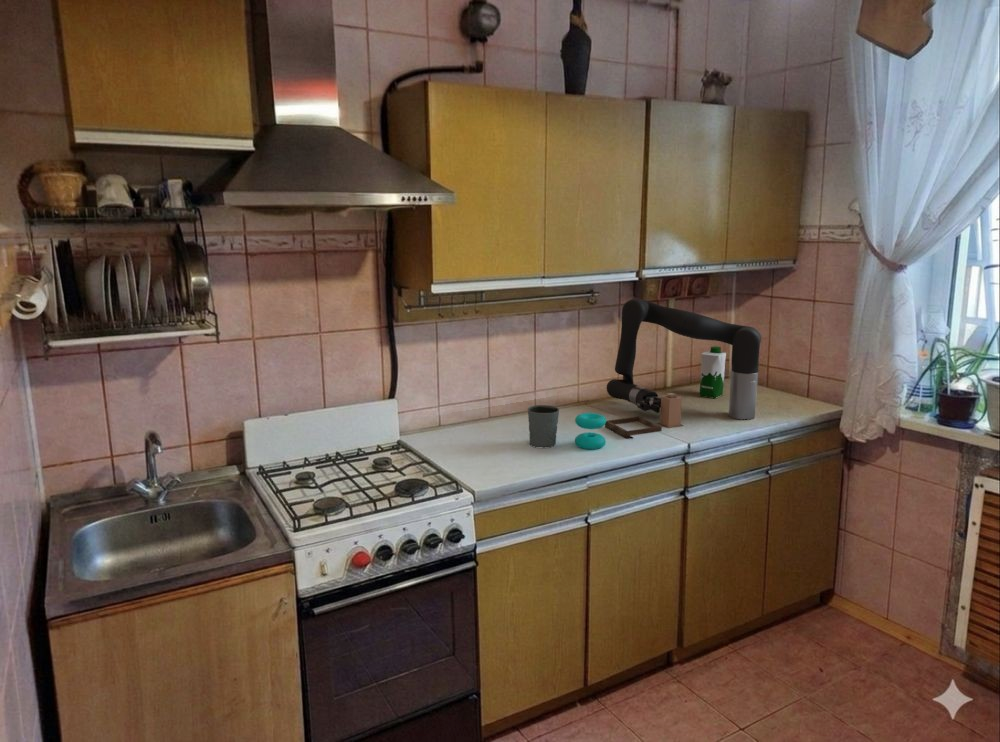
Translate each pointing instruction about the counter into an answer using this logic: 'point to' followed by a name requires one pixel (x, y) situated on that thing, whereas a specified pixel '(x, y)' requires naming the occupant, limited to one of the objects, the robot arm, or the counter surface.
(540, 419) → the grey tapered cup
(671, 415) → the sleeve
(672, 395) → the post
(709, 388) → the milk carton
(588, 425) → the donuts
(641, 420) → the tray
